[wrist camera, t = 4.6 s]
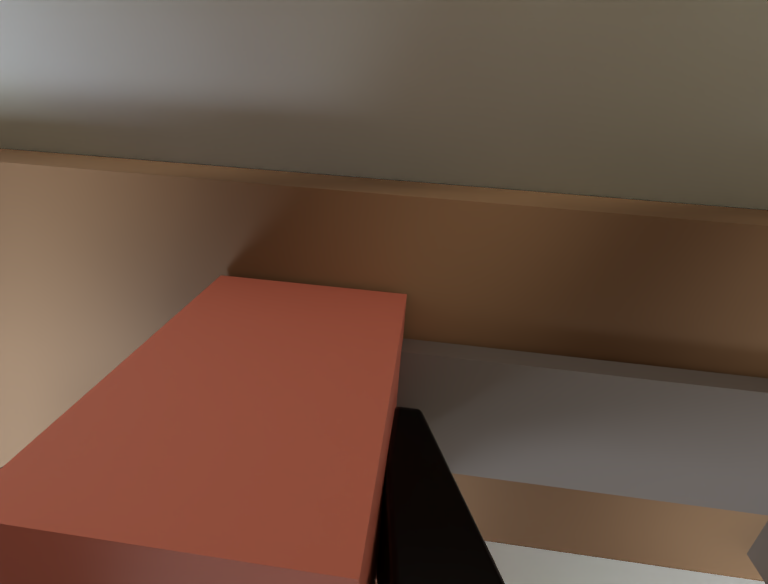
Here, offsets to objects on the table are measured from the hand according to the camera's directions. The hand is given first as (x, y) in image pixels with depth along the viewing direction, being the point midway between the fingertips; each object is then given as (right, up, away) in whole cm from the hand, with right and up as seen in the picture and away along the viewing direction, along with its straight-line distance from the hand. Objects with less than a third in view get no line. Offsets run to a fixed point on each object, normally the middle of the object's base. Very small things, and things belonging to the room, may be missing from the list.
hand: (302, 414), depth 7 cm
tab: (+4, 0, 0) cm, 4 cm away
